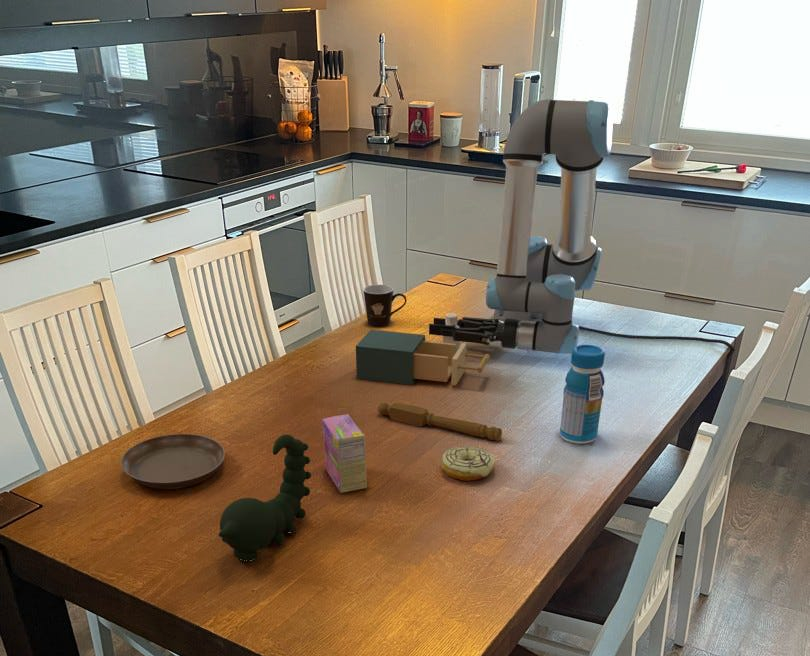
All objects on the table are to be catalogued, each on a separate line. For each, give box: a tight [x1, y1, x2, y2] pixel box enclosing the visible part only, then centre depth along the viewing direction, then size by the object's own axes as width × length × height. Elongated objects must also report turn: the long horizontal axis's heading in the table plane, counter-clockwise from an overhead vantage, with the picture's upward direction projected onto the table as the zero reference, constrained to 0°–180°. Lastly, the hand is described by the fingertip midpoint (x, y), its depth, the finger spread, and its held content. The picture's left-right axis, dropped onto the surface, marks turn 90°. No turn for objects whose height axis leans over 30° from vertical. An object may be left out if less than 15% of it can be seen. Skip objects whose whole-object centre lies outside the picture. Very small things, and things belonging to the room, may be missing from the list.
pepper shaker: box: [441, 312, 460, 352], centre depth 228 cm, size 4×4×10 cm
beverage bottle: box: [559, 344, 606, 445], centre depth 183 cm, size 8×8×20 cm
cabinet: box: [355, 329, 426, 386], centre depth 216 cm, size 15×12×9 cm
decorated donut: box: [441, 446, 496, 482], centre depth 174 cm, size 10×11×4 cm
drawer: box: [413, 340, 491, 386], centre depth 212 cm, size 20×11×7 cm, turn 74°
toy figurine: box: [218, 434, 312, 563], centre depth 149 cm, size 9×19×25 cm
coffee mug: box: [362, 284, 407, 328], centre depth 245 cm, size 12×9×10 cm
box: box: [321, 413, 368, 494], centre depth 169 cm, size 10×6×12 cm, turn 21°
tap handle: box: [377, 402, 503, 442], centre depth 191 cm, size 3×3×30 cm
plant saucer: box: [120, 433, 226, 490], centre depth 175 cm, size 21×21×3 cm
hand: (431, 325), depth 229 cm, fingers closed on pepper shaker, 4 cm apart
